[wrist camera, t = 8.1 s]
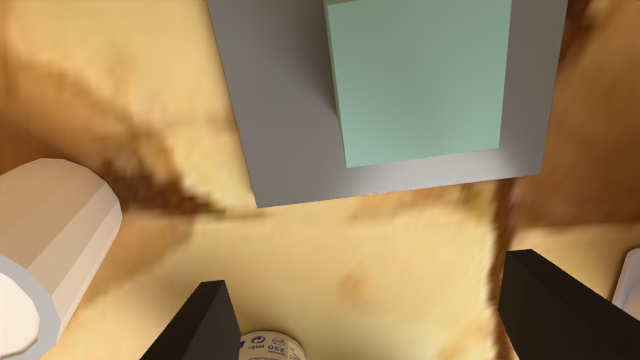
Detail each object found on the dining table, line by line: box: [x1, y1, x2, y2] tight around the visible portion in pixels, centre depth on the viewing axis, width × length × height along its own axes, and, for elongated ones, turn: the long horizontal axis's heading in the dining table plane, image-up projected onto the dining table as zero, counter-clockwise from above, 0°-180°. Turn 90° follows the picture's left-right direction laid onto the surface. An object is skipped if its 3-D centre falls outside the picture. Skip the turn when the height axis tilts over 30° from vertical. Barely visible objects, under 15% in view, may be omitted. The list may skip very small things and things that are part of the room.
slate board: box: [207, 0, 568, 208], centre depth 16 cm, size 14×14×1 cm
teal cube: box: [323, 0, 512, 168], centre depth 14 cm, size 5×5×5 cm
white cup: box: [0, 158, 123, 360], centre depth 17 cm, size 7×7×7 cm
